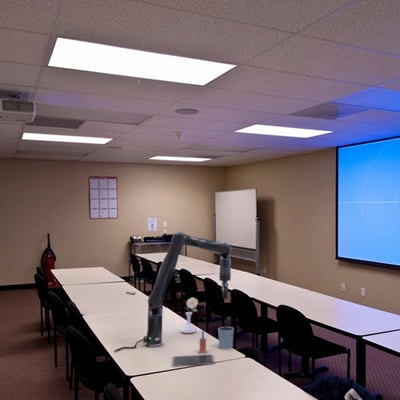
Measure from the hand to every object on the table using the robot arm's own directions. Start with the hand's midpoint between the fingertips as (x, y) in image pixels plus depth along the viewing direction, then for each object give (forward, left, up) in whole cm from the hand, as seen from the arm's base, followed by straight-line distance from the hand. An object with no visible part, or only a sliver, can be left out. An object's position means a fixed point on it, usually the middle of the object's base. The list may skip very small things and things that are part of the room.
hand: (224, 297), depth 282 cm
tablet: (-21, -34, -29) cm, 50 cm away
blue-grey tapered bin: (0, -12, -29) cm, 32 cm away
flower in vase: (-22, +25, -29) cm, 45 cm away
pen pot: (-15, -20, -29) cm, 39 cm away
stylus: (-15, -20, -29) cm, 38 cm away
